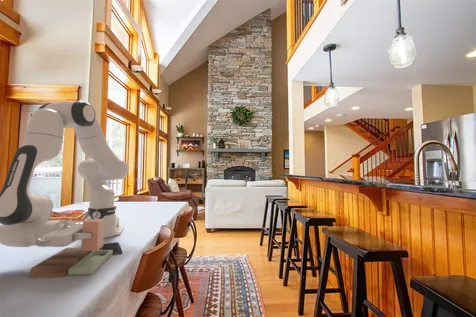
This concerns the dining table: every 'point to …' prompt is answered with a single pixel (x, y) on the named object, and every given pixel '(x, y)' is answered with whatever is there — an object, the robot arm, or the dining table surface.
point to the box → (90, 263)
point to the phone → (112, 248)
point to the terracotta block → (98, 233)
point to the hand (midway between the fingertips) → (96, 232)
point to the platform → (58, 263)
